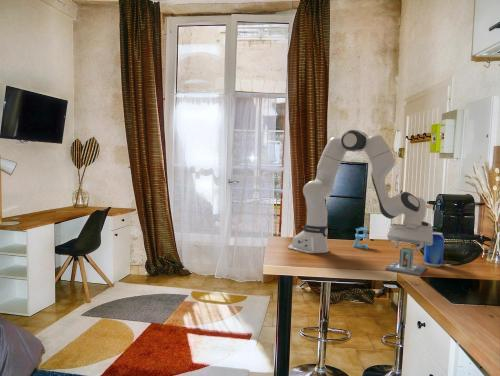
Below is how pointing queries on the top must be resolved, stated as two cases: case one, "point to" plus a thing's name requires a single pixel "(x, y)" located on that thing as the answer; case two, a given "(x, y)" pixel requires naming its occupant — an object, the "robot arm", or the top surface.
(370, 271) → the top surface
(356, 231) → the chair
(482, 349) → the top surface
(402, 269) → the card
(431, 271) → the top surface
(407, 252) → the slotted cup
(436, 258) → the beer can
